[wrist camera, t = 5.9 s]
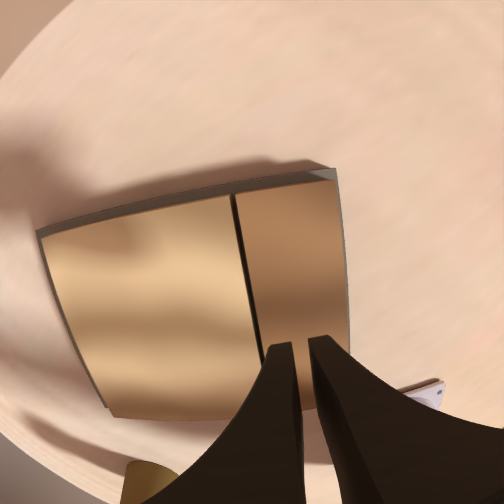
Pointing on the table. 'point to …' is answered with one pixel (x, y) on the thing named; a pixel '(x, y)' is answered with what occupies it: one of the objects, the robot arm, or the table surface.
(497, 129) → the table surface
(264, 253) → the brown curved block
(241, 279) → the oak plank
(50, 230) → the rubber mat
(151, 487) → the olive pawn
